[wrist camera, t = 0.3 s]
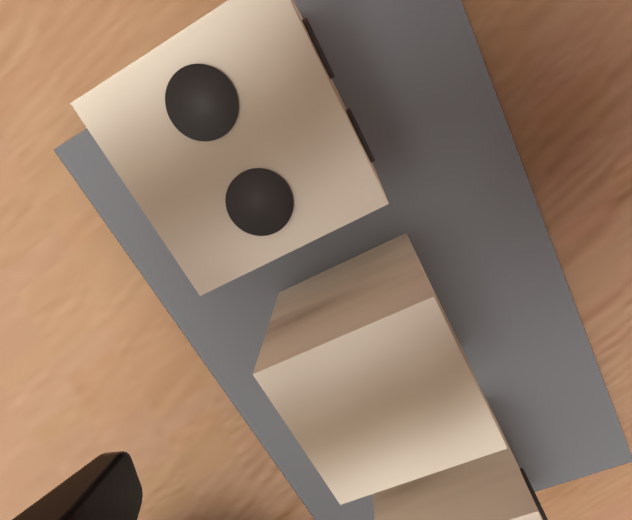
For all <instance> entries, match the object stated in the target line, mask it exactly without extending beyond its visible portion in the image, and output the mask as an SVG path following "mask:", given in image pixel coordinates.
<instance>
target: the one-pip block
mask: <svg viewBox="0 0 632 520" xmlns="http://www.w3.org/2000/svg"><path fill="white" fill-rule="evenodd" d="M485 400H486V402H487V404H488V406H489V409H490V411H491V413H492V415H493V417H494V420H495V422H496V424H497V426H498V428H499V431H500V433H501V435H502V437H503V439H504V442H505V444H506V446H507V449H504V450H501V451H498V452H495V453H492V454H489V455H487V456H484V457H481V458H478V459H475V460H472V461H469V462H466V463H463V464H460V465H457V466H454V467H451V468H448V469H445V470H442V471H439V472H436V473H433V474H430V475H427V476H424V477H421V478H418V479H415V480H413V481H410V482H407V483H404V484H401V485H398V486H395V487H392V488H389V489H386V490H383V491H380V492H377V493H374V494H373V507H374V520H548V519H547V517H546V515H545V513H544V511H543V509H542V507H541V505H540V502H539V500H538V498H537V496H536V494H535V492H534V490H533V488H532V486H531V484H530V481H529V479H528V477H527V475H526V473H525V471H524V469H523V468H520V467H519V465H518V463H517V461H516V459H515V457H514V455H513V453H512V451H511V449H510V447H509V445H508V442H507V440H506V438H505V436H504V434H503V432H502V430H501V428H500V426H499V424H498V422H497V420H496V418H495V416H494V413H493V411H492V409H491V407H490V405H489V403H488V401H487V399H486V397H485Z"/></svg>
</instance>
